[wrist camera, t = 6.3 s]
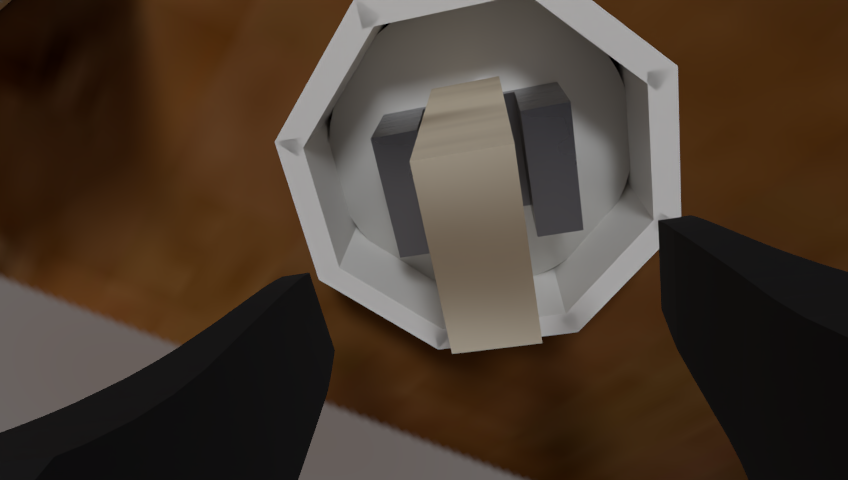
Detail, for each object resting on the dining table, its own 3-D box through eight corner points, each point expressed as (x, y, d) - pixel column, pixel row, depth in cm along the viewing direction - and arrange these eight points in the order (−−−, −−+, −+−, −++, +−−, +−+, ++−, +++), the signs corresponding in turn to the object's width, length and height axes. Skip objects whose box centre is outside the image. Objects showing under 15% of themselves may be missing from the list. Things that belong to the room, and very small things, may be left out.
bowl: (652, 266, 22) (683, 319, 19) (362, 307, 24) (345, 361, 21) (637, -69, 18) (674, -74, 14) (275, 12, 19) (236, 24, 16)
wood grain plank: (519, 218, 21) (542, 343, 14) (458, 226, 21) (452, 353, 14) (498, 75, 19) (514, 143, 12) (431, 89, 19) (409, 161, 12)
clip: (569, 195, 21) (583, 229, 18) (408, 221, 21) (400, 257, 19) (557, 81, 19) (570, 101, 16) (383, 114, 20) (370, 138, 17)
